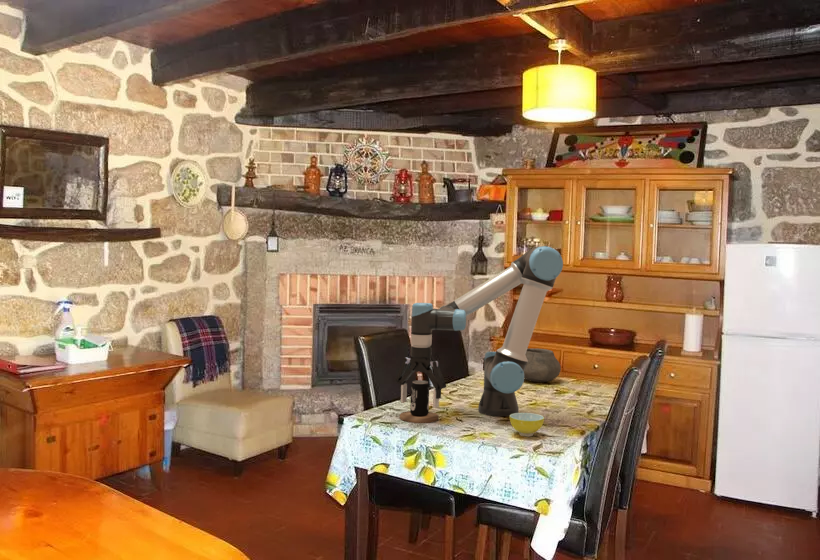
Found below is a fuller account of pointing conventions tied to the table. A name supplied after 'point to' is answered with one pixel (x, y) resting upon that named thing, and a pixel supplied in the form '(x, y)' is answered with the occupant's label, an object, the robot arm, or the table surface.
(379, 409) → the table surface
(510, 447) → the table surface
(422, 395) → the beverage can
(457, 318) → the robot arm
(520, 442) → the table surface
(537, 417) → the bowl
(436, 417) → the disc
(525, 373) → the clay pot
